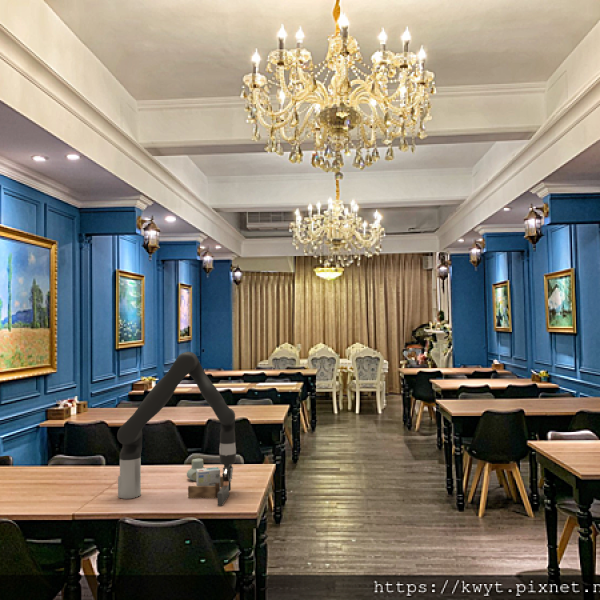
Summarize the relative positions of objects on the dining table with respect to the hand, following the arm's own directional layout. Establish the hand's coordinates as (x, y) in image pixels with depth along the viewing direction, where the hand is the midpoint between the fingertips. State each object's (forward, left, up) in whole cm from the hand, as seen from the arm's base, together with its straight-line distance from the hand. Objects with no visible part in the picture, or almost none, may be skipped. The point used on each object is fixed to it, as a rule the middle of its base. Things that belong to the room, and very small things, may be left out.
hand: (228, 490), depth 249 cm
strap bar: (0, -11, -2) cm, 11 cm away
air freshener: (-21, +24, -2) cm, 32 cm away
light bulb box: (-10, +2, -2) cm, 10 cm away
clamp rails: (-10, +2, -2) cm, 10 cm away
